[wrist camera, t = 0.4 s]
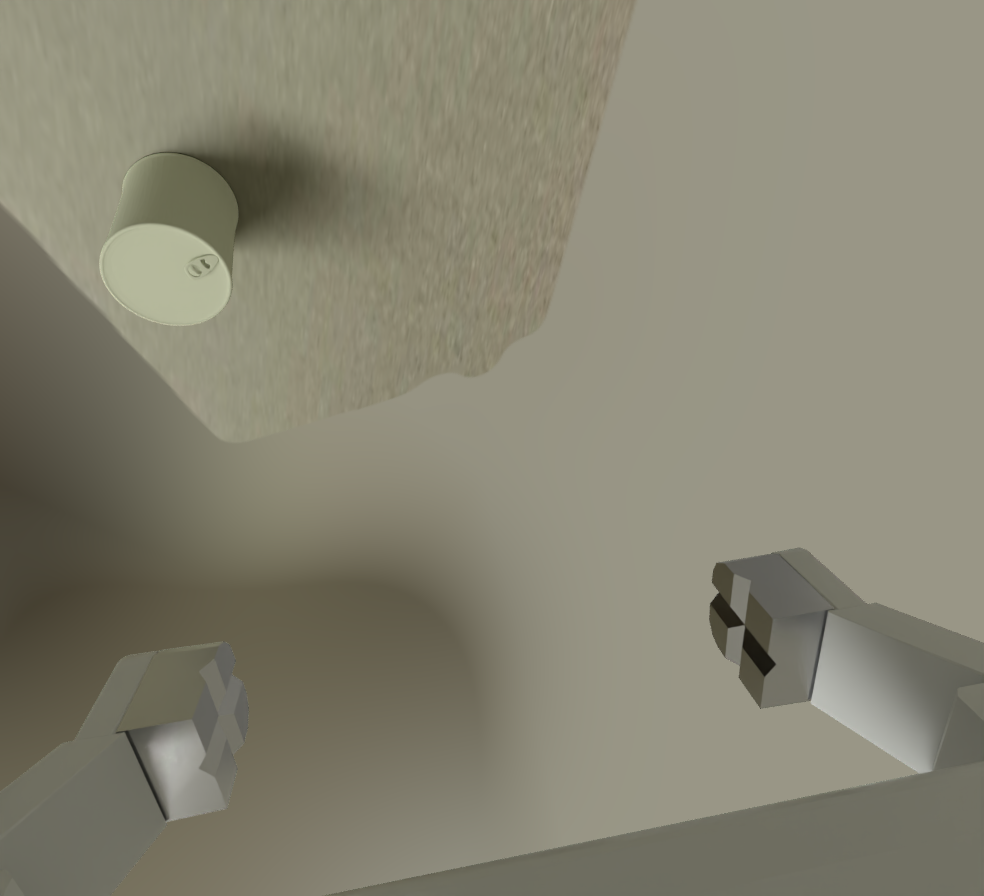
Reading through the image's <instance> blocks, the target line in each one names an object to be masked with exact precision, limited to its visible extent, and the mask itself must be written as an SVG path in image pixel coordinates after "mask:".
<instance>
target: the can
mask: <svg viewBox="0 0 984 896" xmlns="http://www.w3.org/2000/svg"><path fill="white" fill-rule="evenodd" d="M238 216H239V212H238V205H237V201H236V198H235V196H234V193H233V191H232V190H231V188H230V186H229V185H228V184H227V182H226V181H225V180H224V179H223V177H222V176H221V175H220V174H219V173H217V172H216V171H215V170H214V169H213V168H211V167H210V166H208V165H207V164H205V163H203V162H201V161H199V160H197V159H195V158H193V157H190V156H186V155H183V154H177V153H157V154H152V155H149V156H146V157H144V158H142V159H140V160H139V161H137V162H136V163H135V164H134V165H133V166H132V167H131V168H130V169H129V170H128V172H127V174H126V176H125V178H124V181H123V186H122V196H121V199H120V202H119V205H118V208H117V211H116V214H115V217H114V220H113V223H112V226H111V229H110V232H109V235H108V238H107V240H106V243H105V244H104V246H103V248H102V250H101V254H100V260H99V267H100V273H101V276H102V279H103V282H104V284H105V286H106V287H107V289H108V290H109V292H110V293H111V294H112V296H113V297H114V298H115V299H116V300H117V301H118V302H119V303H120V304H122V305H123V306H124V307H125V308H127V309H128V310H130V311H131V312H133V313H134V314H136V315H138V316H140V317H142V318H144V319H147V320H150V321H153V322H156V323H160V324H165V325H172V326H188V325H195V324H199V323H202V322H205V321H207V320H209V319H211V318H213V317H215V316H216V315H218V314H219V313H220V312H221V311H222V310H223V309H224V308H225V306H226V305H227V303H228V301H229V299H230V297H231V293H232V265H233V251H234V238H235V229H236V227H237V223H238Z"/></svg>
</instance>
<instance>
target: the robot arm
mask: <svg viewBox="0 0 984 896" xmlns="http://www.w3.org/2000/svg"><path fill="white" fill-rule="evenodd" d="M712 583H713V584H714V586H715V587H716V589H717V590H718V591H719V593H718V594H717V595H716V597H715V598H714V599H713V601H712V602H711V603H710V615H709V620H710V625H711V629H712V635H713V637H714V639H715V642H716V644H717V646H718V648H719V649H720V651H721V652H722V654H723V655H724V657H725V658H726V659H728V660H730V661H732V662H734V663H736V664H738V665H739V666H740V672H739V678H740V680H741V681H742V683H743V684H744V686H745V687H746V689H747V690H748V691H749V693H750V694H751V696H752V697H753V699H754V700H755V702H756V703H757V704H758V706H759V707H760V709H761V708H768V707H774V706H780V705H787V704H793V703H799V702H806V701H811V704H813V705H814V706H816V707H817V708H819V709H820V710H822V711H823V712H825V713H827V714H828V715H830V716H831V717H833V718H834V719H836V720H837V721H839V722H841V723H842V724H844V725H845V726H847V727H848V728H850V729H851V730H853V731H854V732H856V733H858V734H859V735H861V736H862V737H864V738H865V739H867V740H868V741H870V742H872V743H873V744H875V745H876V746H878V747H879V748H881V749H882V750H884V751H886V752H887V753H889V754H890V755H892V756H893V757H895V758H896V759H898V760H900V761H901V762H903V763H904V764H906V765H907V766H909V767H910V768H912V769H914V770H915V771H917V772H918V773H920V774H916V775H910V776H905V777H901V778H896V779H891V780H886V781H881V782H876V783H871V784H866V785H862V786H857V787H852V788H847V789H842V790H837V791H832V792H827V793H822V794H818V795H813V796H808V797H803V798H798V799H793V800H788V801H783V802H778V803H774V804H768V805H764V806H759V807H754V808H749V809H745V810H739V811H734V812H729V813H724V814H720V815H715V816H710V817H705V818H700V819H695V820H690V821H685V822H680V823H676V824H671V825H666V826H661V827H656V828H651V829H647V830H641V831H637V832H632V833H627V834H622V835H618V836H612V837H607V838H602V839H597V840H593V841H588V842H583V843H578V844H573V845H568V846H563V847H558V848H554V849H549V850H544V851H539V852H534V853H529V854H524V855H519V856H514V857H510V858H505V859H500V860H495V861H490V862H485V863H480V864H476V865H471V866H466V867H461V868H456V869H451V870H446V871H442V872H436V873H431V874H427V875H422V876H417V877H412V878H407V879H402V880H397V881H392V882H387V883H383V884H378V885H373V886H368V887H363V888H358V889H353V890H348V891H344V892H339V893H334V894H329V895H325V896H984V643H983V642H980V641H977V640H975V639H972V638H969V637H966V636H964V635H961V634H958V633H956V632H953V631H950V630H947V629H945V628H942V627H940V626H937V625H934V624H932V623H929V622H926V621H924V620H921V619H918V618H916V617H913V616H910V615H907V614H905V613H902V612H899V611H897V610H894V609H891V608H888V607H886V606H883V605H881V604H878V603H872V604H867V603H865V602H864V601H863V600H862V599H861V598H860V597H859V596H858V595H856V594H855V593H854V592H853V591H852V590H851V589H850V588H849V587H847V586H846V585H845V584H844V583H843V582H842V581H841V580H840V579H839V578H837V577H836V576H835V575H834V574H833V573H832V572H831V571H830V570H829V569H828V568H826V567H825V566H824V565H823V564H822V563H821V562H820V561H818V559H816V558H815V557H814V556H813V555H812V554H811V553H810V552H809V551H807V550H805V549H802V548H795V549H789V550H784V551H780V552H774V553H771V554H767V555H761V556H755V557H749V558H743V559H737V560H731V561H725V562H719V563H716V565H715V568H714V570H713V576H712ZM235 662H236V660H235V657H234V654H233V652H232V649H231V647H230V645H229V644H228V643H226V642H217V643H210V644H202V645H195V646H188V647H181V648H174V649H166V650H160V651H154V652H148V653H141V654H134V655H127V656H126V657H124V658H123V659H121V660H120V661H119V662H118V664H117V665H116V667H115V669H114V671H113V672H112V674H111V676H110V678H109V679H108V681H107V683H106V685H105V686H104V688H103V690H102V692H101V693H100V695H99V697H98V699H97V701H96V703H95V704H94V706H93V708H92V709H91V711H90V713H89V715H88V717H87V718H86V720H85V722H84V724H83V725H82V727H81V729H80V731H79V732H78V734H77V736H76V738H75V740H74V741H71V742H65V743H62V744H61V745H59V746H58V747H57V748H56V749H54V750H53V751H52V752H51V753H49V754H48V755H47V756H45V757H44V758H43V759H42V760H40V761H39V762H38V763H36V764H35V765H34V766H33V767H31V768H30V769H29V770H28V771H26V772H25V773H24V774H22V775H21V776H20V777H19V778H17V779H16V780H15V781H14V782H12V783H11V784H10V785H8V786H7V787H6V788H4V789H3V790H2V791H1V792H0V896H110V895H111V894H112V893H113V892H114V890H115V889H116V888H117V887H118V885H119V884H120V883H121V882H122V880H123V879H124V878H125V876H126V875H127V874H128V873H129V872H130V870H131V869H132V868H133V867H134V865H135V864H136V863H137V862H138V861H139V859H140V858H141V857H142V856H143V854H144V853H145V852H146V851H147V849H148V848H149V847H150V845H151V844H152V843H153V842H154V841H155V839H156V838H157V837H158V836H159V834H160V833H161V832H162V831H163V830H164V828H165V827H166V826H167V823H166V822H168V821H172V820H177V819H181V818H186V817H191V816H195V815H200V814H205V813H209V812H214V811H218V810H223V809H227V807H228V803H229V800H230V796H231V792H232V788H233V784H234V781H235V777H236V773H237V765H236V762H235V760H234V757H233V754H234V753H235V752H236V751H237V750H238V749H239V748H240V747H241V746H242V745H243V744H244V742H245V737H246V733H247V729H248V713H249V712H248V711H249V707H248V700H247V693H246V690H245V687H244V684H243V682H242V681H241V680H239V679H238V678H236V677H235V676H233V675H232V671H233V668H234V665H235Z"/></svg>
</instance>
